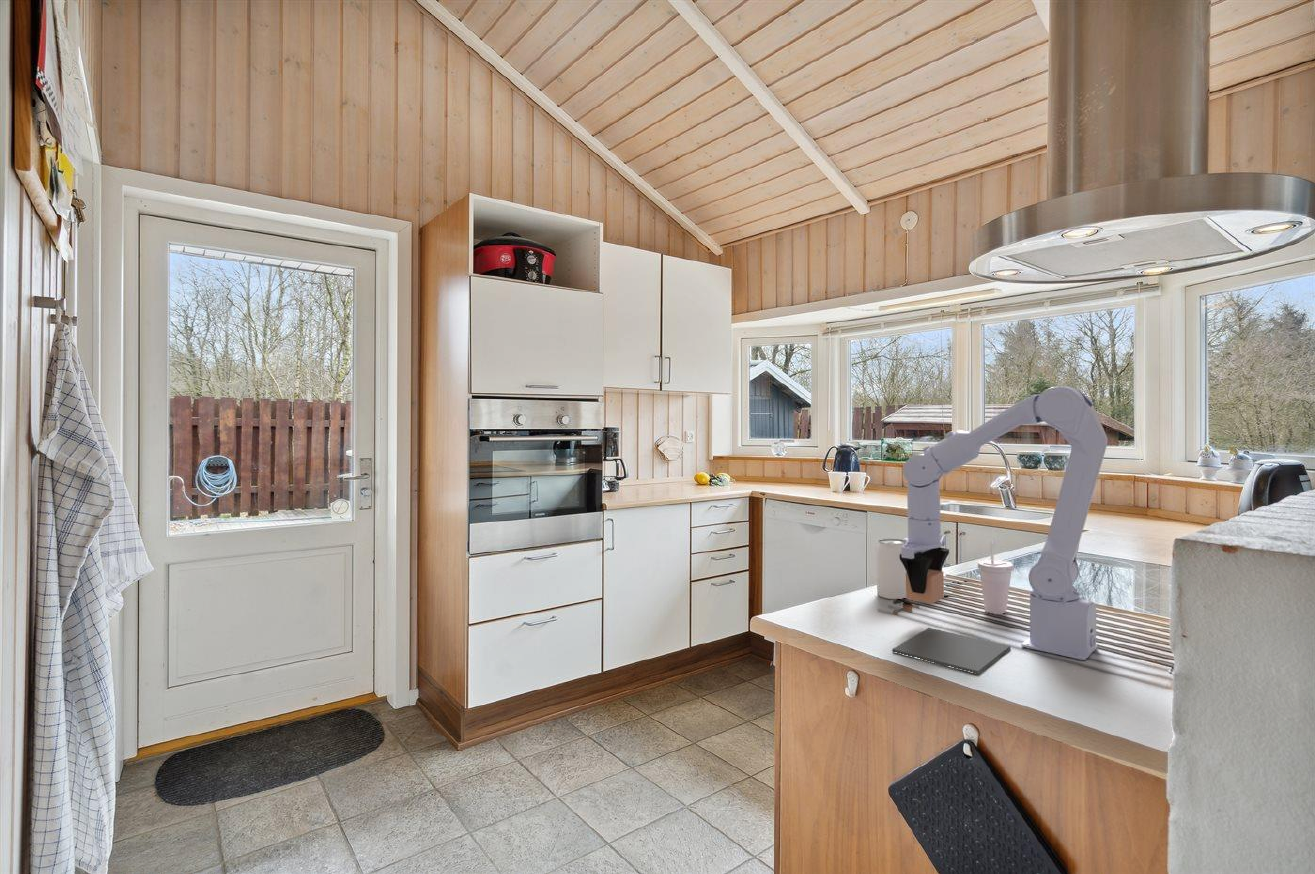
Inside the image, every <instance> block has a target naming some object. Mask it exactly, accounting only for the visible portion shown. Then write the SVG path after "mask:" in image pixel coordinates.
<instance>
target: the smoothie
mask: <svg viewBox="0 0 1315 874" xmlns="http://www.w3.org/2000/svg"><path fill="white" fill-rule="evenodd" d="M994 542H995V541H993V540H991V541H990V559H982V560H978V561H977V569H979V577H980V582H981V590H982V597H983V605H984V611H985V610H986V611H987V612H986V611H985V612H986V613H988V612H990V613H989V614H991V613H993V615H1004V614H1003V613H1005V612H1006V613H1007V608H1008V607H1007V606H1008V599H1009V592H1010V585H1011V584H1010V583H1011V580H1012V571H1014V570H1015V569H1014V564H1013V563H1012V562H1010V561H1006V560H1001V559H995V546H994V545H995V543H994ZM1006 613H1005V614H1006Z"/></svg>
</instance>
